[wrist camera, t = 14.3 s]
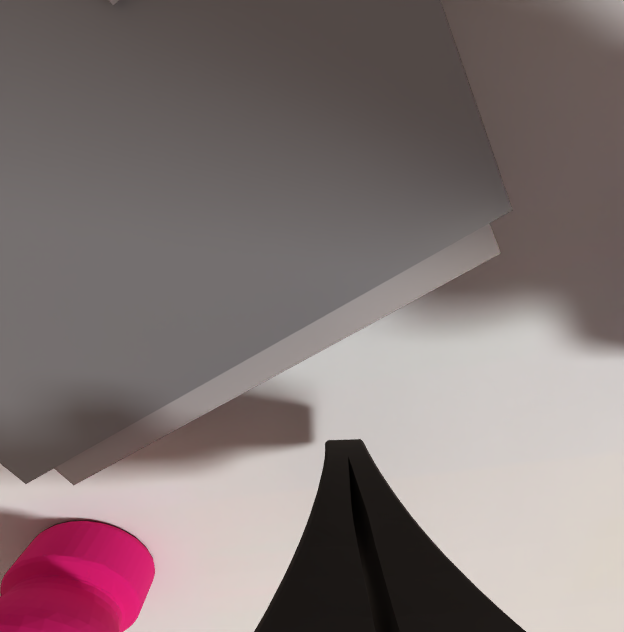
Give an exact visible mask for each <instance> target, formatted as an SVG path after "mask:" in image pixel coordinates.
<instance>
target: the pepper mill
mask: <svg viewBox="0 0 624 632" xmlns="http://www.w3.org/2000/svg"><path fill="white" fill-rule="evenodd" d="M154 574H155V568H154V562H153V558H152V556H151V555H150V553H149V551H148V550H147V548H146V547H145V546H144V545H143V544H142V543H141V542H140V541H139V540H138V539H136V538H135V537H133V536H132V535H130V534H128V533H127V532H125V531H123V530H121V529H119V528H116V527H114V526H111V525H107V524H103V523H97V522H91V521H72V522H66V523H61V524H57V525H54V526H52V527H50V528H48V529H46V530H44V531H43V532H41V533H40V534H39V535H37V536H36V537H35V539H34V540H33V541H32V542H31V543H30V545H29V546H28V547H27V548H26V549H25V551H24V552H23V553H22V554H21V555H20V557H19V558H18V559H17V560H16V562H15V563H14V564H13V565H12V566H11V568H10V569H9V570H8V571H7V572H6V574H5V575H4V577H3V579H2V582H1V590H0V592H1V597H0V632H123V631H125V630H126V629H127V628H129V627H130V626H131V625H132V624H133V623H134V622H135V620H136V619H137V618H138V615H139V613H140V610H141V608H142V606H143V603H144V601H145V598H146V596H147V594H148V591H149V589H150V586H151V584H152V582H153V578H154Z"/></svg>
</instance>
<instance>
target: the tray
mask: <svg viewBox="0 0 624 632" xmlns="http://www.w3.org/2000/svg"><path fill="white" fill-rule="evenodd" d="M499 254H501V252H500V250H499V247H498V244H497V242H496V239H495V236H494V234H493V231H492V228H491V226H490V223H489V224H487V225H485V226H484V227H482V228H480V229H478V230H476V231H475V232H473V233H471V234H469V235H468V236H466V237H464V238H462V239H460V240H459V241H457V242H455V243H453V244H452V245H450V246H448V247H446V248H444V249H443V250H441V251H439V252H437V253H436V254H434V255H432V256H430V257H428V258H427V259H425V260H423V261H421V262H420V263H418V264H416V265H414V266H412V267H411V268H409V269H407V270H405V271H404V272H402V273H400V274H398V275H396V276H395V277H393V278H391V279H389V280H388V281H386V282H384V283H382V284H380V285H379V286H377V287H375V288H373V289H372V290H370V291H368V292H366V293H364V294H363V295H361V296H359V297H357V298H356V299H354V300H352V301H350V302H349V303H347V304H345V305H343V306H341V307H340V308H338V309H336V310H334V311H333V312H331V313H329V314H327V315H325V316H324V317H322V318H320V319H318V320H317V321H315V322H313V323H311V324H309V325H308V326H306V327H304V328H302V329H301V330H299V331H297V332H295V333H293V334H292V335H290V336H288V337H286V338H285V339H283V340H281V341H279V342H277V343H276V344H274V345H272V346H270V347H269V348H267V349H265V350H263V351H261V352H260V353H258V354H256V355H254V356H253V357H251V358H249V359H247V360H245V361H244V362H242V363H240V364H238V365H237V366H235V367H233V368H231V369H229V370H228V371H226V372H224V373H222V374H221V375H219V376H217V377H215V378H213V379H212V380H210V381H208V382H206V383H205V384H203V385H201V386H199V387H197V388H196V389H194V390H192V391H190V392H189V393H187V394H185V395H183V396H181V397H180V398H178V399H176V400H174V401H173V402H171V403H169V404H167V405H165V406H164V407H162V408H160V409H158V410H157V411H155V412H153V413H151V414H149V415H148V416H146V417H144V418H142V419H141V420H139V421H137V422H135V423H133V424H132V425H130V426H128V427H126V428H125V429H123V430H121V431H119V432H117V433H116V434H114V435H112V436H110V437H109V438H107V439H105V440H103V441H101V442H100V443H98V444H96V445H94V446H93V447H91V448H89V449H87V450H85V451H84V452H82V453H80V454H78V455H77V456H75V457H73V458H71V459H69V460H68V461H66V462H64V463H62V464H61V465H59V466H57V467H55V468H54V469H55V470H57V471H58V472H59V473H60V474H61V475H62V476H64V477H65V478H66V479H67V480H68V481H69V482H70V483H72V484H73V485H75V484H77V483H79V482H81V481H82V480H84V479H86V478H88V477H90V476H92V475H94V474H95V473H97V472H99V471H101V470H103V469H105V468H106V467H108V466H110V465H112V464H114V463H116V462H117V461H119V460H121V459H123V458H125V457H127V456H129V455H130V454H132V453H134V452H136V451H138V450H140V449H141V448H143V447H145V446H147V445H149V444H151V443H153V442H154V441H156V440H158V439H160V438H162V437H164V436H165V435H167V434H169V433H171V432H173V431H175V430H176V429H178V428H180V427H182V426H184V425H186V424H188V423H189V422H191V421H193V420H195V419H197V418H199V417H200V416H202V415H204V414H206V413H208V412H210V411H212V410H213V409H215V408H217V407H219V406H221V405H223V404H224V403H226V402H228V401H230V400H232V399H234V398H235V397H237V396H239V395H241V394H243V393H245V392H247V391H248V390H250V389H252V388H254V387H256V386H258V385H259V384H261V383H263V382H265V381H267V380H269V379H270V378H272V377H274V376H276V375H278V374H280V373H282V372H283V371H285V370H287V369H289V368H291V367H293V366H294V365H296V364H298V363H300V362H302V361H304V360H306V359H307V358H309V357H311V356H313V355H315V354H317V353H318V352H320V351H322V350H324V349H326V348H328V347H329V346H331V345H333V344H335V343H337V342H339V341H341V340H342V339H344V338H346V337H348V336H350V335H352V334H353V333H355V332H357V331H359V330H361V329H363V328H364V327H366V326H368V325H370V324H372V323H374V322H376V321H377V320H379V319H381V318H383V317H385V316H387V315H388V314H390V313H392V312H394V311H396V310H398V309H400V308H401V307H403V306H405V305H407V304H409V303H411V302H412V301H414V300H416V299H418V298H420V297H422V296H423V295H425V294H427V293H429V292H431V291H433V290H435V289H436V288H438V287H440V286H442V285H444V284H446V283H447V282H449V281H451V280H453V279H455V278H457V277H459V276H460V275H462V274H464V273H466V272H468V271H470V270H471V269H473V268H475V267H477V266H479V265H481V264H482V263H484V262H486V261H488V260H490V259H492V258H494V257H495V256H497V255H499Z"/></svg>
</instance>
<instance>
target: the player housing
mask: <svg viewBox="0 0 624 632" xmlns="http://www.w3.org/2000/svg"><path fill="white" fill-rule="evenodd" d="M510 211H512V207H511V204H510V201H509V198H508V195H507V192H506V189H505V187H504V184H503V181H502V178H501V175H500V172H499V169H498V166H497V163H496V160H495V158H494V155H493V152H492V149H491V146H490V143H489V140H488V137H487V134H486V131H485V129H484V126H483V123H482V120H481V117H480V114H479V111H478V108H477V105H476V102H475V100H474V97H473V94H472V91H471V88H470V85H469V82H468V79H467V76H466V73H465V71H464V68H463V65H462V62H461V59H460V56H459V53H458V50H457V47H456V44H455V42H454V39H453V36H452V33H451V30H450V27H449V24H448V21H447V18H446V15H445V13H444V10H443V7H442V4H441V1H440V0H0V463H1V464H2V465H3V466H4V467H5V468H7V469H8V470H9V471H10V472H12V473H13V474H14V475H15V476H17V477H18V478H19V479H20V480H22V481H23V482H24V483H25V484H27V483H29V482H30V481H32V480H34V479H36V478H37V477H39V476H41V475H43V474H45V473H46V472H48V471H50V470H52V469H53V468H55V467H57V466H59V465H61V464H62V463H64V462H66V461H68V460H69V459H71V458H73V457H75V456H77V455H78V454H80V453H82V452H84V451H85V450H87V449H89V448H91V447H93V446H94V445H96V444H98V443H100V442H101V441H103V440H105V439H107V438H109V437H110V436H112V435H114V434H116V433H117V432H119V431H121V430H123V429H125V428H126V427H128V426H130V425H132V424H133V423H135V422H137V421H139V420H141V419H142V418H144V417H146V416H148V415H149V414H151V413H153V412H155V411H157V410H158V409H160V408H162V407H164V406H165V405H167V404H169V403H171V402H173V401H174V400H176V399H178V398H180V397H181V396H183V395H185V394H187V393H189V392H190V391H192V390H194V389H196V388H197V387H199V386H201V385H203V384H205V383H206V382H208V381H210V380H212V379H213V378H215V377H217V376H219V375H221V374H222V373H224V372H226V371H228V370H229V369H231V368H233V367H235V366H237V365H238V364H240V363H242V362H244V361H245V360H247V359H249V358H251V357H253V356H254V355H256V354H258V353H260V352H261V351H263V350H265V349H267V348H269V347H270V346H272V345H274V344H276V343H277V342H279V341H281V340H283V339H285V338H286V337H288V336H290V335H292V334H293V333H295V332H297V331H299V330H301V329H302V328H304V327H306V326H308V325H309V324H311V323H313V322H315V321H317V320H318V319H320V318H322V317H324V316H325V315H327V314H329V313H331V312H333V311H334V310H336V309H338V308H340V307H341V306H343V305H345V304H347V303H349V302H350V301H352V300H354V299H356V298H357V297H359V296H361V295H363V294H364V293H366V292H368V291H370V290H372V289H373V288H375V287H377V286H379V285H380V284H382V283H384V282H386V281H388V280H389V279H391V278H393V277H395V276H396V275H398V274H400V273H402V272H404V271H405V270H407V269H409V268H411V267H412V266H414V265H416V264H418V263H420V262H421V261H423V260H425V259H427V258H428V257H430V256H432V255H434V254H436V253H437V252H439V251H441V250H443V249H444V248H446V247H448V246H450V245H452V244H453V243H455V242H457V241H459V240H460V239H462V238H464V237H466V236H468V235H469V234H471V233H473V232H475V231H476V230H478V229H480V228H482V227H484V226H485V225H487V224H489V223H491V222H492V221H494V220H496V219H498V218H500V217H501V216H503V215H505V214H507V213H508V212H510Z"/></svg>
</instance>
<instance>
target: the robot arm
mask: <svg viewBox="0 0 624 632" xmlns="http://www.w3.org/2000/svg"><path fill="white" fill-rule="evenodd" d="M254 632H526V631H525V630H523V629H522V628H521V627H520V626H519V625H518V624H516V623H515V622H514V621H513V620H512V619H511V618H510V617H508V616H507V615H506V614H505V613H504V612H503V611H502V610H501V609H499V608H498V607H497V606H496V605H495V604H494V603H493V602H492V601H491V600H490V599H489V598H488V597H487V596H486V595H484V594H483V593H482V592H481V591H480V590H479V589H478V588H477V587H476V586H475V585H474V584H473V583H472V582H471V581H470V580H469V579H468V578H467V577H466V576H465V575H464V574H463V573H462V572H461V571H460V570H459V569H458V568H457V567H456V566H455V565H454V564H453V563H452V562H451V561H450V560H449V559H448V558H447V557H446V556H445V555H444V554H443V552H442V551H441V550H440V549H439V548H438V547H437V546H436V545H435V544H434V542H433V541H432V540H431V539H430V538H429V537H428V536H427V534H426V533H425V532H424V531H423V530H422V529H421V527H420V526H419V525H418V524H417V522H416V521H415V520H414V519H413V518H412V516H411V515H410V514H409V512H408V511H407V510H406V508H405V507H404V506H403V504H402V503H401V502H400V500H399V499H398V498H397V496H396V495H395V493H394V492H393V491H392V489H391V488H390V486H389V485H388V483H387V482H386V480H385V479H384V477H383V476H382V474H381V473H380V471H379V469H378V468H377V466H376V464H375V463H374V461H373V459H372V458H371V456H370V454H369V452H368V450H367V448H366V446H365V444H364V442H363V441H362V440H361V439H356V440H328V441H327V442H326V443H325V460H324V466H323V471H322V475H321V479H320V483H319V488H318V491H317V495H316V498H315V501H314V504H313V507H312V510H311V514H310V516H309V519H308V522H307V525H306V527H305V530H304V532H303V535H302V537H301V540H300V542H299V545H298V547H297V549H296V552H295V554H294V556H293V558H292V561H291V563H290V565H289V567H288V569H287V571H286V573H285V576H284V578H283V580H282V581H281V583H280V585H279V587H278V589H277V591H276V593H275V595H274V597H273V599H272V601H271V603H270V605H269V607H268V608H267V610H266V612H265V614H264V616H263V617H262V619H261V621H260V623H259V624H258V626H257V628H256V629H255V631H254Z"/></svg>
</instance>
